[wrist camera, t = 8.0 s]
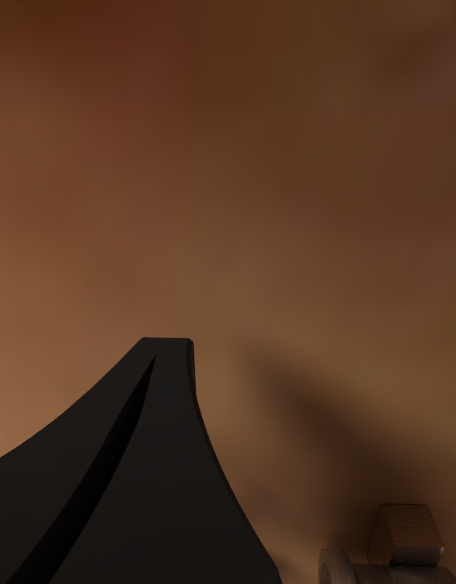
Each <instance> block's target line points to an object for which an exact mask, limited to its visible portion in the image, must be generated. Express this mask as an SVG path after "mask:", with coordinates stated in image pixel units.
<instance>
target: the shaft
mask: <svg viewBox="0 0 456 584" xmlns="http://www.w3.org/2000/svg"><path fill="white" fill-rule="evenodd" d="M444 548H445V547H444V544H443V542H442V540H441V537H440V535H439V533H438V530H437V528H436V526H435V523H434V521H433V518H432V516H431V514H430V511H429V509H428V507H427V505H395V504H382V505H381V509H380V512H379V516H378V520H377V523H376V527H375V530H374V534H373V538H372V541H371V545H370V548H369V552H368V556H367V559H368V563H369V564H351V563H350V560H349V557H348V555H347V553H346V552H345V551H344V550H340V549H322V550H321V552H320V556H319V566H318V584H456V578H455V577H454V575H453V574H452V573H451V572H450V570H448V569H447V568H445V567H437V564H438V562H439V560H440V557H441V555H442V553H443V550H444Z"/></svg>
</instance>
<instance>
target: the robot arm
mask: <svg viewBox="0 0 456 584" xmlns="http://www.w3.org/2000/svg"><path fill="white" fill-rule="evenodd" d="M0 584H282V581H281V578H280V575H279V572H278V569H277V567H276V565H275V563H274V562H273V560H272V559H271V557H270V556H269V554H268V552H267V551H266V549H265V548H264V546H263V544H262V543H261V541H260V539H259V538H258V536H257V535H256V533H255V531H254V530H253V528H252V526H251V524H250V523H249V521H248V519H247V517H246V515H245V514H244V512H243V510H242V508H241V506H240V505H239V503H238V501H237V499H236V497H235V495H234V493H233V491H232V489H231V487H230V485H229V483H228V481H227V478H226V476H225V474H224V472H223V470H222V468H221V466H220V464H219V461H218V459H217V456H216V454H215V452H214V449H213V447H212V444H211V441H210V439H209V436H208V433H207V431H206V428H205V425H204V422H203V418H202V415H201V412H200V408H199V405H198V401H197V397H196V381H195V362H194V344H193V341H191V340H190V339H189V338H151V337H143V338H142V339H140V340H139V341H138V342H137V343H136V344H135V345H134V346H133V347H132V348H131V349H130V350H129V351H128V352H127V353H126V355H125V356H124V357H123V358H122V359H121V360H120V361H119V362H118V363H117V364H116V365H115V366H114V367H113V368H112V369H111V370H110V371H109V372H108V373H107V374H106V375H105V376H103V377H102V378H101V379H100V380H99V381H98V382H97V383H96V384H95V385H94V386H93V387H92V388H91V389H90V390H89V391H88V392H87V393H85V394H84V395H83V396H82V397H81V398H80V399H79V400H77V401H76V402H75V403H74V404H73V405H72V406H71V407H69V408H68V409H67V410H66V411H65V412H64V413H62V414H61V415H60V416H59V417H57V418H56V419H55V420H54V421H52V422H51V423H50V424H48V425H47V426H46V427H44V428H43V429H42V430H40V431H39V432H38V433H36V434H35V435H33V436H32V437H31V438H29V439H28V440H26V441H25V442H24V443H22V444H21V445H19V446H18V447H16V448H15V449H13V450H11V451H10V452H8V453H7V454H5V455H4V456H2V457H1V458H0Z"/></svg>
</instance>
